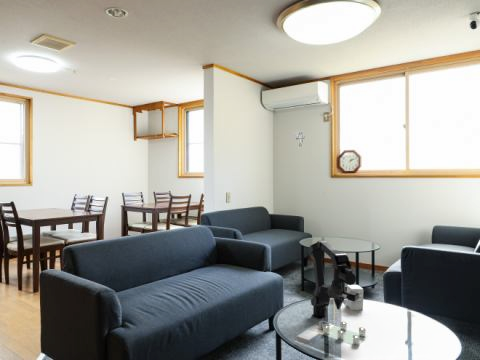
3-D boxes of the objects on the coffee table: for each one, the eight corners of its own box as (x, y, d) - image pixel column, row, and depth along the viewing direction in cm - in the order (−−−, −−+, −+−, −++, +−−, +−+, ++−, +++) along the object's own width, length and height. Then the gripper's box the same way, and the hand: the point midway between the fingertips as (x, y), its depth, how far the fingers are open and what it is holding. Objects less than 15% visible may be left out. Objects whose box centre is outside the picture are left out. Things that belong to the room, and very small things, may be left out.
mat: (313, 332, 169) (313, 331, 169) (325, 324, 179) (325, 322, 179) (357, 348, 155) (357, 346, 155) (367, 337, 165) (367, 336, 165)
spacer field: (321, 334, 166) (322, 326, 166) (333, 325, 176) (333, 318, 176) (357, 346, 155) (358, 339, 155) (367, 336, 165) (368, 329, 165)
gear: (316, 329, 171) (316, 323, 171) (320, 325, 176) (320, 319, 176) (327, 332, 168) (327, 326, 168) (331, 328, 173) (331, 322, 173)
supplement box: (345, 305, 205) (346, 284, 205) (357, 305, 206) (358, 284, 205) (350, 310, 198) (351, 288, 197) (363, 310, 198) (363, 288, 198)
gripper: (314, 277, 169) (313, 308, 170) (350, 287, 157) (349, 320, 158) (324, 272, 178) (324, 302, 178) (360, 281, 165) (359, 312, 166)
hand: (338, 309), depth 170 cm, fingers closed
